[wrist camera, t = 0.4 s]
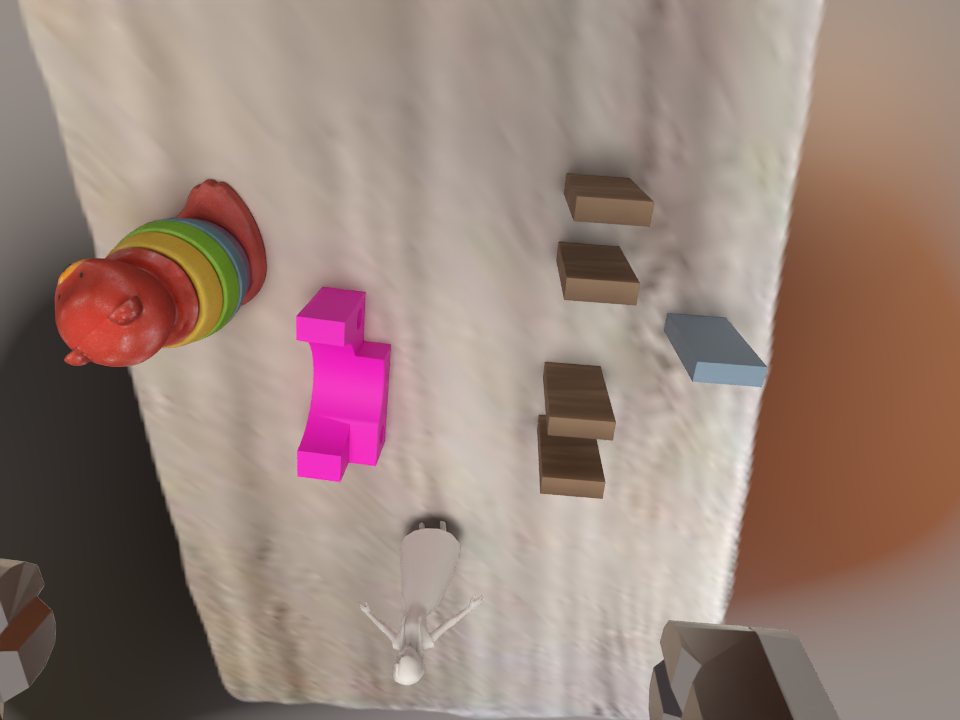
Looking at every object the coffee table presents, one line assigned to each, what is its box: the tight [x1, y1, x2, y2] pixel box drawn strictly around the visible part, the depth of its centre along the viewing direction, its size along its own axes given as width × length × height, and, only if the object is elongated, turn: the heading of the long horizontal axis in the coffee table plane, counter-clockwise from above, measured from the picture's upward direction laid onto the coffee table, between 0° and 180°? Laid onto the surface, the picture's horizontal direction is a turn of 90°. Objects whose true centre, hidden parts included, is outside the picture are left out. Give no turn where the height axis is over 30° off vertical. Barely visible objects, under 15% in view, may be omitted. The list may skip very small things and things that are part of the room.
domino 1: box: [564, 174, 654, 227], centre depth 46 cm, size 2×5×10 cm, turn 87°
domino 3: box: [543, 362, 616, 440], centre depth 53 cm, size 2×5×10 cm, turn 86°
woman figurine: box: [359, 521, 484, 685], centre depth 57 cm, size 12×4×18 cm, turn 98°
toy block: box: [296, 287, 391, 482], centre depth 55 cm, size 15×6×8 cm, turn 173°
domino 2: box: [557, 242, 640, 305], centre depth 48 cm, size 2×5×10 cm, turn 86°
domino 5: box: [664, 313, 767, 387], centre depth 50 cm, size 2×5×10 cm, turn 87°
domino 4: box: [537, 415, 605, 499], centre depth 55 cm, size 2×5×10 cm, turn 87°
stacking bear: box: [55, 180, 266, 367], centre depth 46 cm, size 11×10×18 cm
